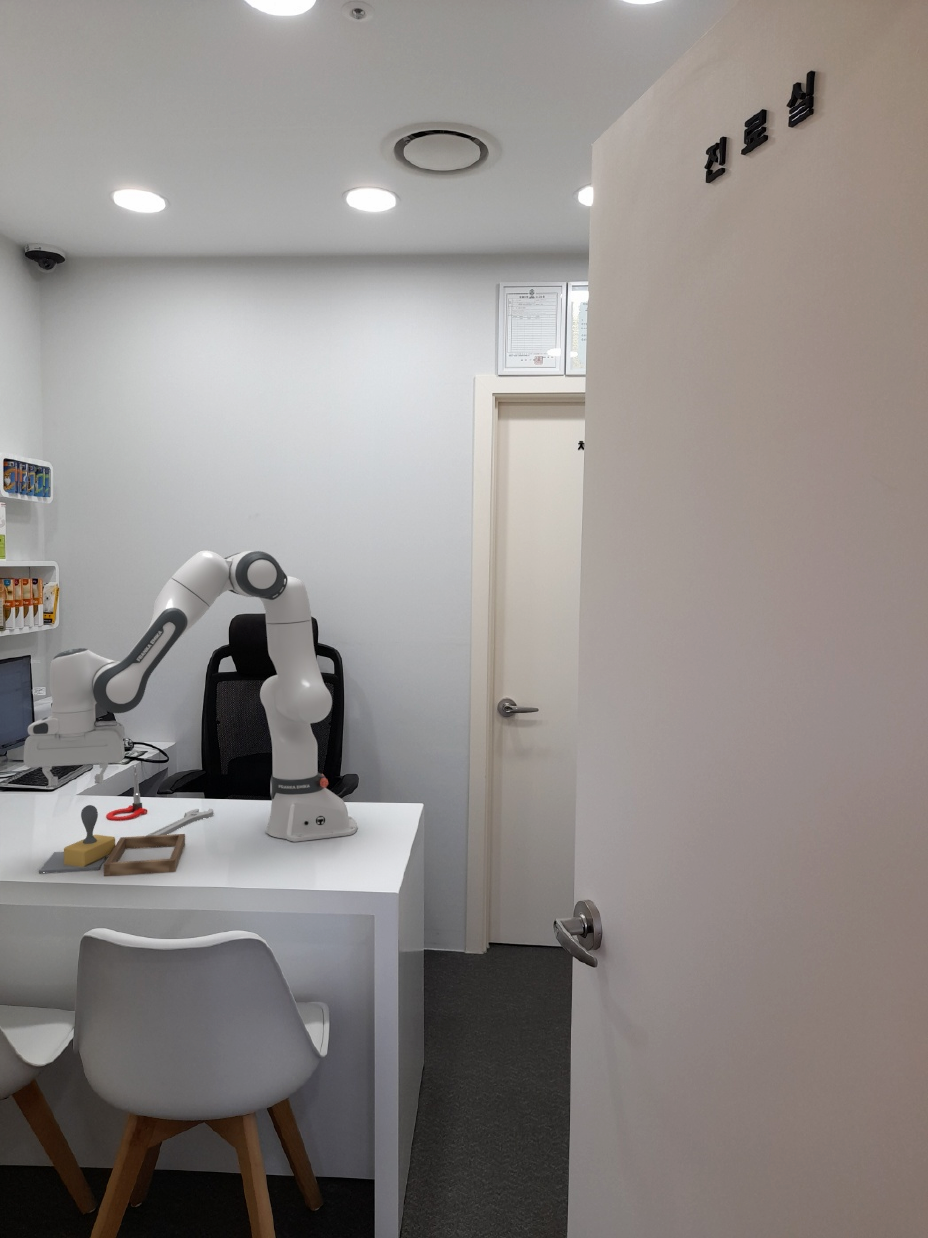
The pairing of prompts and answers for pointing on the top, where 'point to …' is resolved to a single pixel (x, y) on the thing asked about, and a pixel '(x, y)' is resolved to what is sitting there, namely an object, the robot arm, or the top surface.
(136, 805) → the tow hook
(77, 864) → the rubber stamp
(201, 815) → the adjustable wrench
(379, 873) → the top surface
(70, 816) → the top surface
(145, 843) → the wooden frame
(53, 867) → the slate mat
